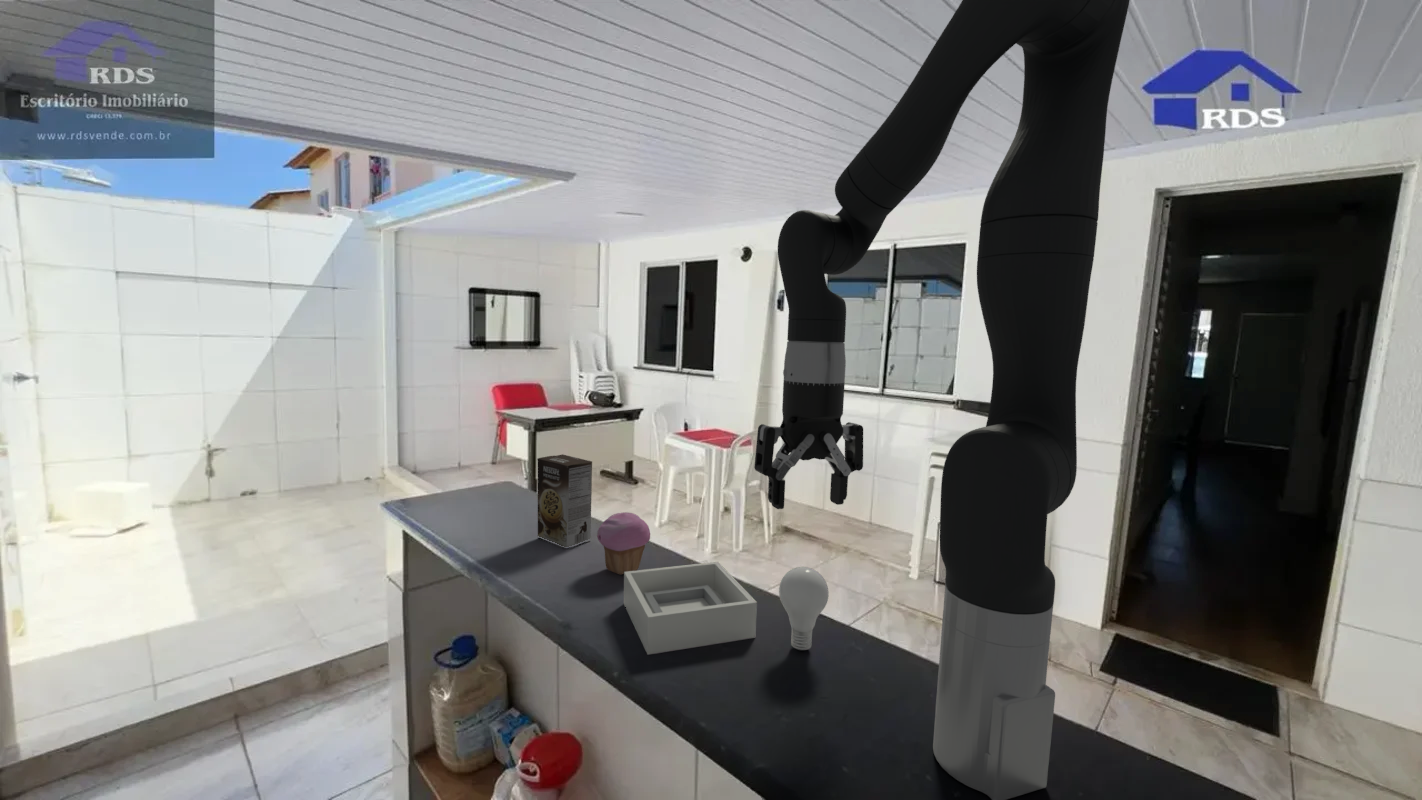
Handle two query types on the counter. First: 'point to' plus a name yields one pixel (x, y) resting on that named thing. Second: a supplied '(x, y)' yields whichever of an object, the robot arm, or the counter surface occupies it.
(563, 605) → the counter surface
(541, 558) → the counter surface
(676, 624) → the walled box
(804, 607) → the lightbulb
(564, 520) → the coffee box
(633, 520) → the cupcake
